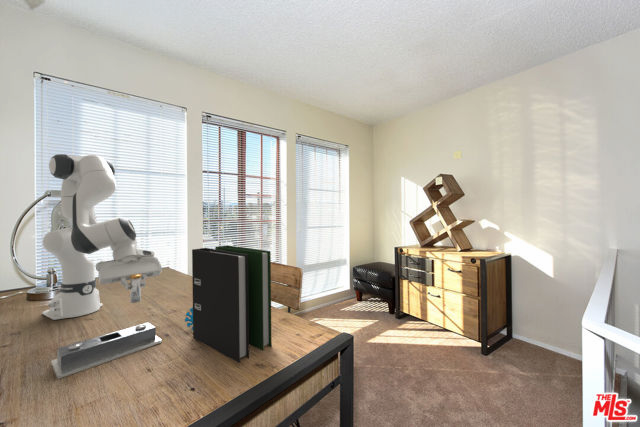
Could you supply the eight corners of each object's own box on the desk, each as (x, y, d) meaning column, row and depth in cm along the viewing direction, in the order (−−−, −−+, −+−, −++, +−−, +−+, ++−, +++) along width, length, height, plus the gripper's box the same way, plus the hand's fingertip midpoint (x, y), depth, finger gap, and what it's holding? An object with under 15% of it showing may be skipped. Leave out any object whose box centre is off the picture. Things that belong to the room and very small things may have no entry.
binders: (273, 345, 90) (272, 250, 90) (234, 365, 78) (233, 256, 78) (228, 324, 107) (227, 245, 107) (191, 338, 95) (190, 249, 95)
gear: (186, 330, 98) (184, 306, 104) (182, 338, 101) (180, 314, 107) (216, 326, 105) (213, 303, 111) (212, 334, 108) (209, 311, 114)
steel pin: (127, 302, 100) (127, 275, 100) (136, 299, 103) (136, 273, 103) (134, 303, 98) (134, 276, 98) (143, 300, 102) (143, 274, 102)
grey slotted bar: (57, 379, 73) (57, 358, 72) (51, 363, 80) (51, 345, 80) (161, 342, 93) (161, 326, 93) (149, 332, 100) (148, 318, 100)
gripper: (96, 256, 97) (103, 288, 91) (157, 250, 113) (167, 277, 107) (93, 267, 100) (99, 298, 94) (153, 260, 116) (162, 286, 110)
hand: (136, 287), depth 100 cm, fingers closed on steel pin, 3 cm apart
